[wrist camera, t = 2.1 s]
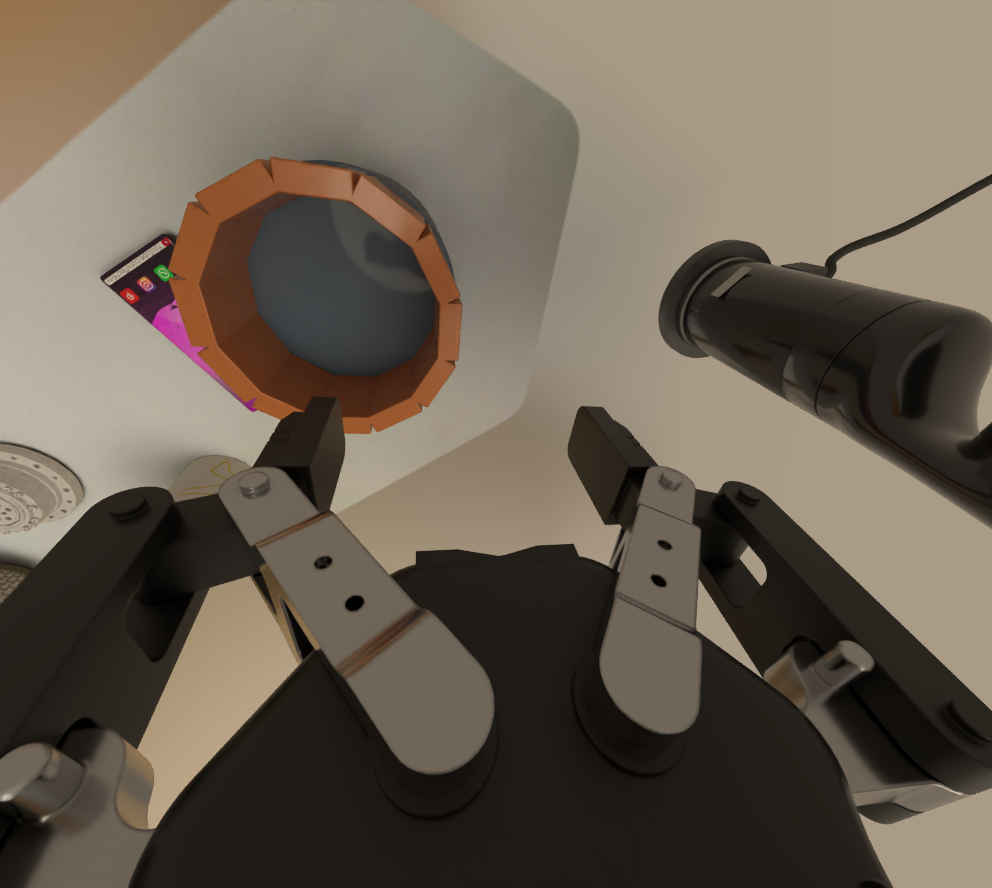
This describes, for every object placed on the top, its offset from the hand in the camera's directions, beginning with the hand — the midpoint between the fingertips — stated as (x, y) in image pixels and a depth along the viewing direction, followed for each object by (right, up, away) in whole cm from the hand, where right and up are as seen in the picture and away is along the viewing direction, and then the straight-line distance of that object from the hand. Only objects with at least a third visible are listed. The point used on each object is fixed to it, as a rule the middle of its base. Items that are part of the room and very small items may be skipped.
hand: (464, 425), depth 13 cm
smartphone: (-25, +10, +22) cm, 35 cm away
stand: (-11, +16, +21) cm, 28 cm away
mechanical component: (-49, -4, +27) cm, 56 cm away
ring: (-8, +9, +11) cm, 17 cm away
